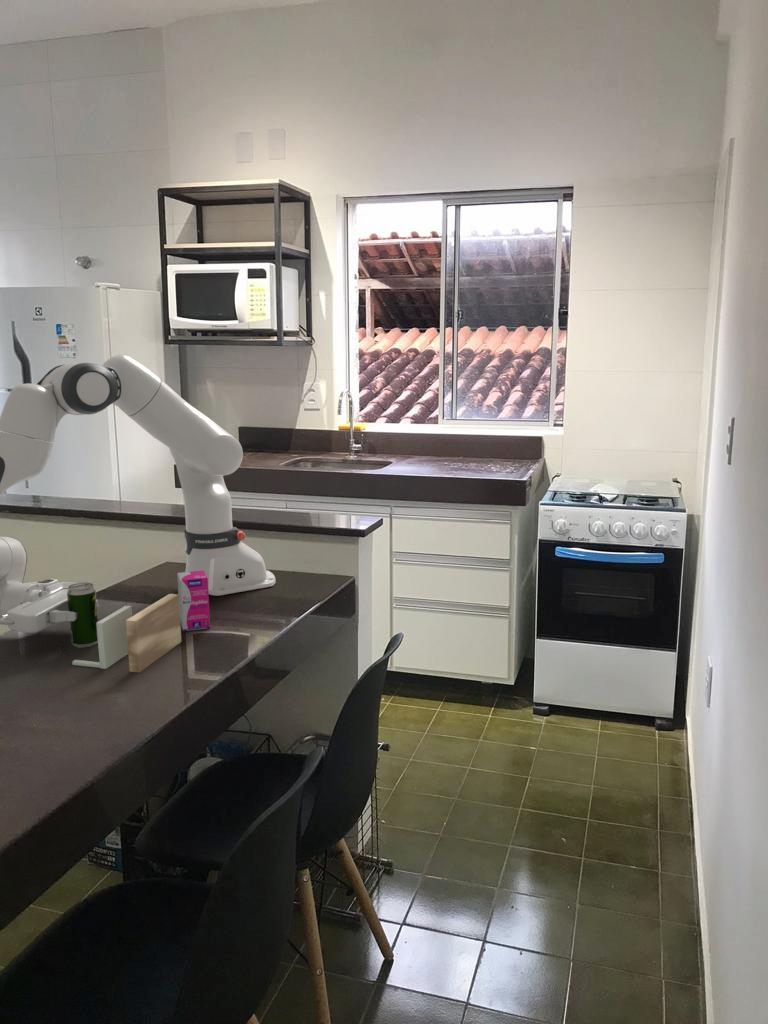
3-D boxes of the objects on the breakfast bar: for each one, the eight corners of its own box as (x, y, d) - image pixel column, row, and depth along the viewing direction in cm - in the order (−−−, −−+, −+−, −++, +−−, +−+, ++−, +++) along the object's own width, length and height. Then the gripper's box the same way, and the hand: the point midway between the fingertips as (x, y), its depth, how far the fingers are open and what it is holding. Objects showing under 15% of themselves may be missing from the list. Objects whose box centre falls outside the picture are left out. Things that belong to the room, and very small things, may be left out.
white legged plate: (71, 665, 159) (67, 619, 157) (102, 646, 169) (98, 603, 167) (105, 669, 157) (102, 623, 155) (134, 649, 167) (131, 606, 165)
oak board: (129, 671, 156) (125, 620, 154) (172, 640, 171) (169, 593, 169) (139, 672, 156) (135, 621, 153) (181, 641, 171) (178, 594, 169)
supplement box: (182, 632, 176) (179, 579, 173) (179, 623, 181) (176, 572, 179) (210, 629, 178) (208, 576, 175) (206, 620, 183) (204, 569, 181)
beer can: (75, 650, 167) (70, 592, 164) (68, 641, 171) (63, 585, 168) (103, 644, 170) (98, 587, 167) (95, 636, 174) (91, 580, 171)
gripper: (-10, 606, 162) (52, 612, 158) (56, 576, 181) (113, 580, 177) (-7, 637, 163) (55, 643, 159) (59, 604, 182) (116, 609, 179)
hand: (86, 610), depth 169 cm, fingers closed on beer can, 5 cm apart
